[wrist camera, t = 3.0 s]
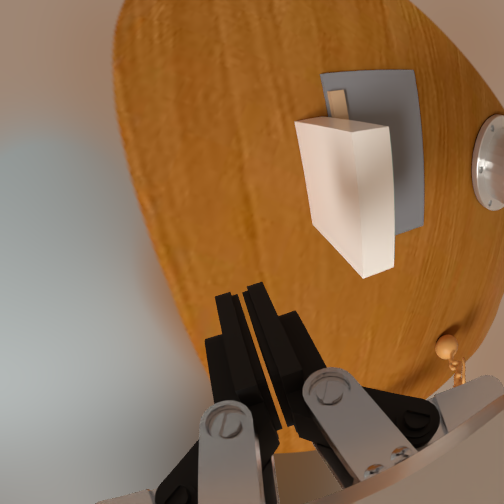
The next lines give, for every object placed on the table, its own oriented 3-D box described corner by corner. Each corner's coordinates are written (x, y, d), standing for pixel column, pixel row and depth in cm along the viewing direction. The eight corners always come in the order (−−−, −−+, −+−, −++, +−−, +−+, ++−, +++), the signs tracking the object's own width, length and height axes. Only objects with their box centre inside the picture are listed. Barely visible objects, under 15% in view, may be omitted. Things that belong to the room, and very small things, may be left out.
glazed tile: (325, 116, 21) (392, 125, 14) (339, 216, 26) (396, 265, 18) (294, 121, 21) (351, 132, 13) (312, 224, 26) (362, 278, 18)
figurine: (446, 347, 42) (483, 393, 31) (419, 365, 42) (455, 415, 31) (451, 316, 38) (497, 366, 27) (422, 336, 38) (467, 391, 27)
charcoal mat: (411, 70, 20) (417, 69, 19) (421, 224, 28) (426, 227, 27) (319, 74, 20) (325, 73, 19) (345, 249, 27) (349, 254, 27)
